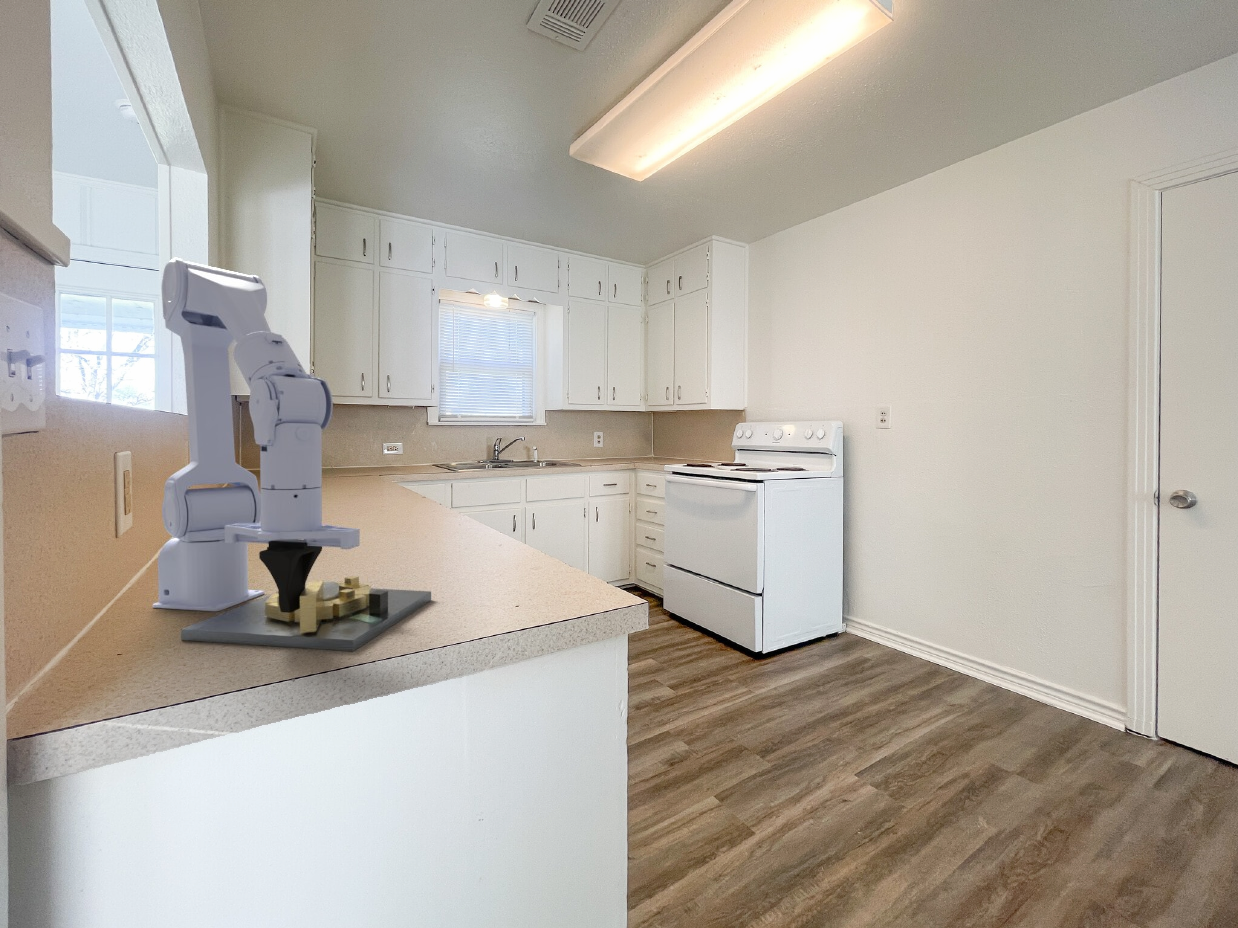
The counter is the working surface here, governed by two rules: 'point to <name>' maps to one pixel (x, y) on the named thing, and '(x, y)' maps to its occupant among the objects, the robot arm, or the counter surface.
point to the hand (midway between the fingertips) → (292, 609)
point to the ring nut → (321, 603)
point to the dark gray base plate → (331, 633)
